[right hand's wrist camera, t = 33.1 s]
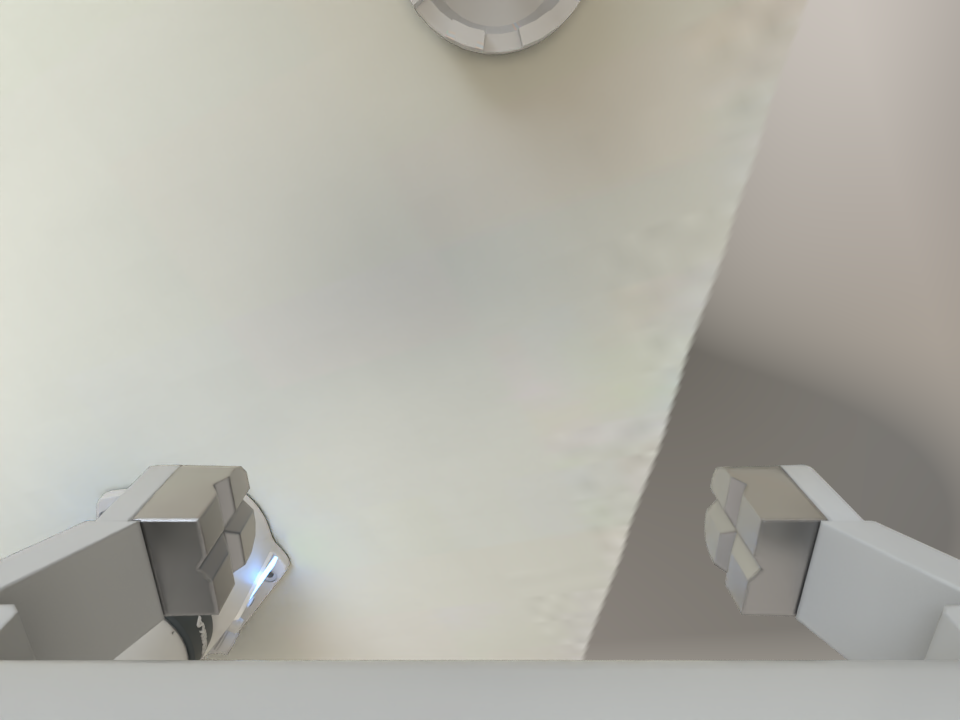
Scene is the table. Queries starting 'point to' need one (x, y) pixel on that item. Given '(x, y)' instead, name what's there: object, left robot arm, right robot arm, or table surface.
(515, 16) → the flag stand
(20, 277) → the table surface
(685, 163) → the table surface
